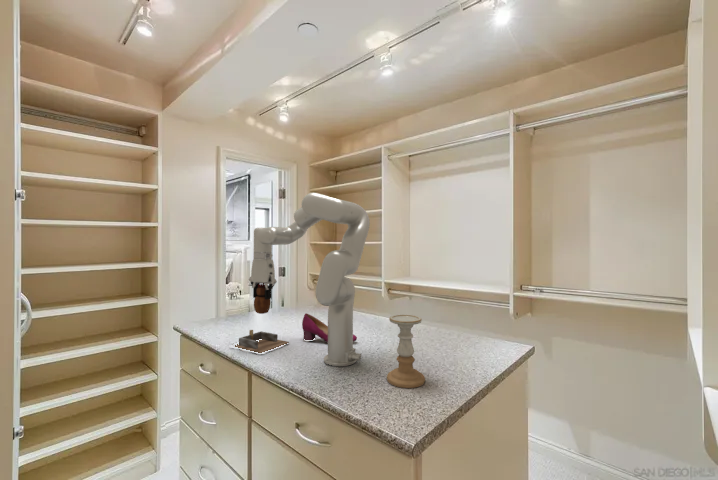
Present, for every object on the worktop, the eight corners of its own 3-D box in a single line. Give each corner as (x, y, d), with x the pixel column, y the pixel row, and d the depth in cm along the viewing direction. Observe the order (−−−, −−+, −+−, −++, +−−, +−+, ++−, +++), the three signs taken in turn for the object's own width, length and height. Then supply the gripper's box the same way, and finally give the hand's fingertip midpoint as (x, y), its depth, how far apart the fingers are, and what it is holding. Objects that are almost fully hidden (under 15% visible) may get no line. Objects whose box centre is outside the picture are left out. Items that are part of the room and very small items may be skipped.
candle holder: (378, 380, 105) (378, 317, 105) (402, 369, 114) (402, 312, 114) (409, 392, 96) (409, 324, 96) (432, 380, 105) (432, 317, 105)
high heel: (355, 346, 140) (355, 317, 140) (298, 344, 143) (298, 316, 144) (358, 340, 148) (358, 313, 148) (304, 338, 152) (304, 312, 152)
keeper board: (288, 344, 142) (288, 330, 142) (260, 355, 128) (260, 339, 128) (258, 338, 152) (258, 325, 152) (229, 347, 138) (229, 333, 138)
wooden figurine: (272, 311, 142) (272, 277, 142) (267, 314, 136) (267, 279, 136) (257, 311, 143) (257, 277, 143) (251, 314, 137) (252, 278, 137)
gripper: (283, 256, 138) (283, 298, 138) (255, 255, 147) (255, 295, 147) (270, 257, 132) (270, 301, 132) (241, 256, 141) (241, 297, 141)
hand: (262, 297), depth 140 cm, fingers closed on wooden figurine, 6 cm apart
